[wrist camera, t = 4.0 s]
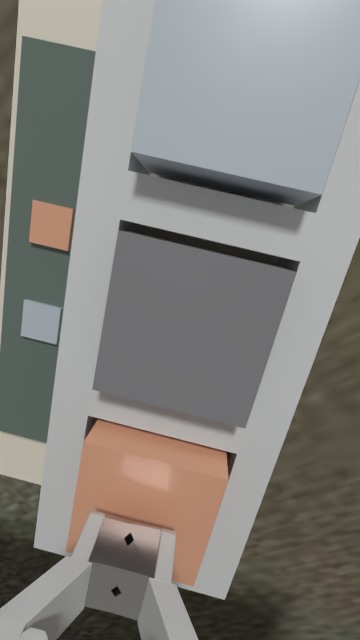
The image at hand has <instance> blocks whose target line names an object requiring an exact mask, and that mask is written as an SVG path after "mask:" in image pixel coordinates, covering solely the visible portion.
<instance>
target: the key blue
mask: <svg viewBox="0 0 360 640" xmlns="http://www.w3.org/2000/svg"><path fill="white" fill-rule="evenodd" d="M359 80H360V0H156V3H155V9H154V15H153V21H152V27H151V33H150V39H149V45H148V51H147V58H146V64H145V70H144V76H143V82H142V88H141V94H140V100H139V106H138V113H137V119H136V125H135V131H134V137H133V143H132V149H131V152H132V153H133V154H134V156H135V157H136V158H137V159H138V160H139V161H140V163H141V164H142V165H143V166H144V167H145V168H146V170H147V171H148V172H149V173H153V174H158V175H162V176H166V177H171V178H175V179H180V180H184V181H188V182H193V183H197V184H202V185H206V186H210V187H215V188H219V189H224V190H228V191H232V192H237V193H241V194H246V195H250V196H254V197H259V198H263V199H268V200H272V201H276V202H281V203H285V204H289V205H294V206H297V205H299V204H301V203H304V202H306V201H308V200H311V199H313V198H315V197H318V196H320V195H322V193H323V190H324V187H325V184H326V181H327V178H328V174H329V171H330V168H331V165H332V162H333V159H334V156H335V153H336V150H337V147H338V144H339V141H340V138H341V135H342V132H343V129H344V126H345V123H346V119H347V116H348V113H349V110H350V107H351V104H352V101H353V98H354V95H355V92H356V89H357V86H358V83H359Z"/></svg>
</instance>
